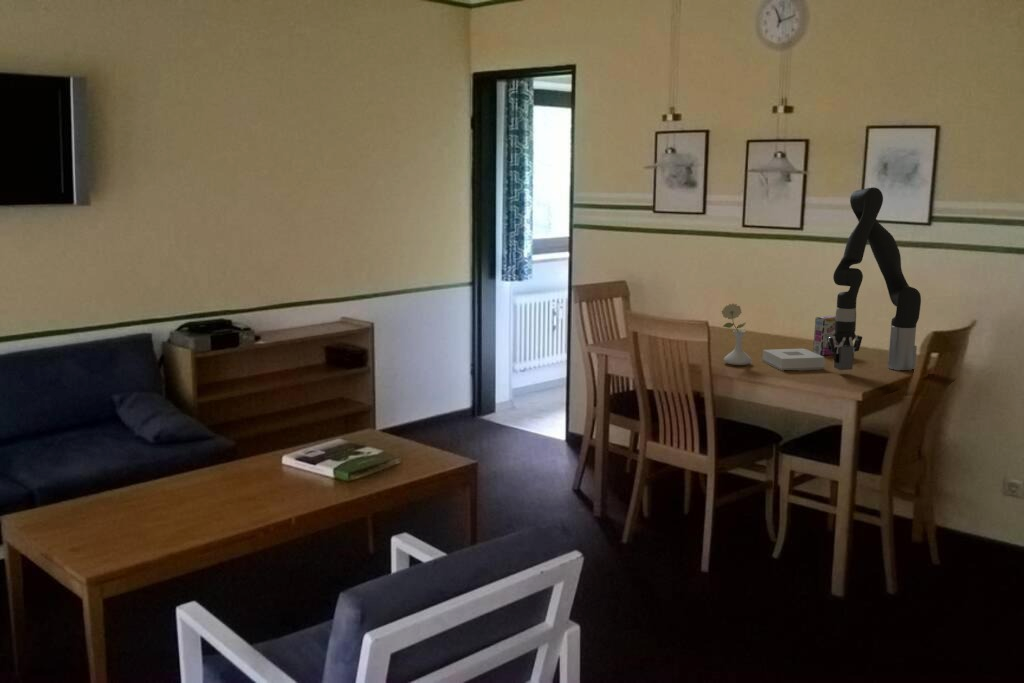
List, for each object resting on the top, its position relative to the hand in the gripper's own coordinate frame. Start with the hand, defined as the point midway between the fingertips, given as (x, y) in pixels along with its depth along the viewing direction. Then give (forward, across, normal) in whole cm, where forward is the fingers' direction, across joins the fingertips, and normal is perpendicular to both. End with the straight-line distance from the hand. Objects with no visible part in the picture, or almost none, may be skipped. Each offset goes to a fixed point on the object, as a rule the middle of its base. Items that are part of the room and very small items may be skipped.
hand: (843, 362), depth 365 cm
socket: (+5, +12, -18) cm, 22 cm away
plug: (+2, 0, 0) cm, 2 cm away
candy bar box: (+5, -12, -36) cm, 39 cm away
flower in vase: (+4, +34, -24) cm, 42 cm away
